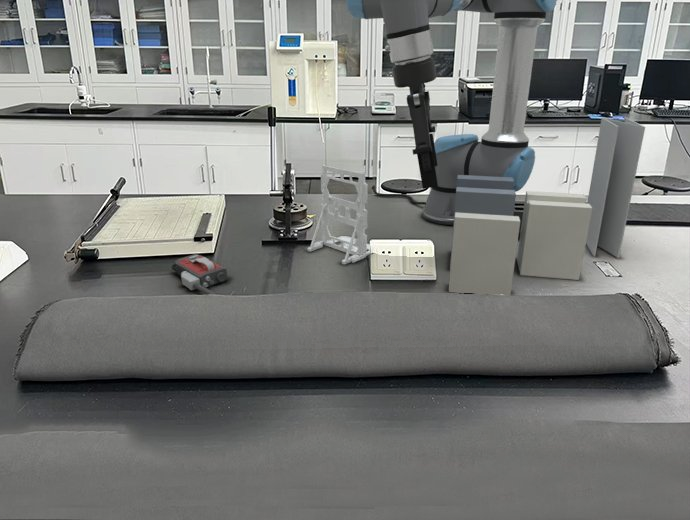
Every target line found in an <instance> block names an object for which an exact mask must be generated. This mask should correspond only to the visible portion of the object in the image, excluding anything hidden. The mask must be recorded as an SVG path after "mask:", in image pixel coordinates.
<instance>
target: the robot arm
mask: <svg viewBox="0 0 690 520" xmlns="http://www.w3.org/2000/svg"><path fill="white" fill-rule="evenodd" d="M557 1H558V0H345V3H346V4H345V5H346V8H347V11H348V12H349V14H350V16H352V17H353V18H355V19H363V20H373V19H377V20H378V19H383V24H384V28H385V33H386V35H385V37H386V39H387V45H385V46H384V51H386V52H389V58H390V59H389V60H390V62H391V63H392V64H394V65H393V66H392V68H391V73H392V78H393V83H394V86H395V87H396V88H399V89H401V88H403V89H404V88H409V94H407V95H406V104H407V108H408V111H409V117H410V120H411V122H412V123H411V124H412V128H413V129H412V130H413V138H414V144H415V148H413V149H412V155H413V156H414V155H416V156H417V162H418V167H419V174H420V175H419V176H420V181H421V186H422V190H425V189H429V188H430V191H429V193H428V196H427V199H426V202H425V201H416V200H414V198H413V197H412V196H410V195H409V194H404V193H381V192H378V191H377V190H376V185H373V184H372V186H371V190H372V192H373V194H375V195H376V196H378V197H387V198H388V197H389V198H390V197H401V198H407V199H409V200H410V202H411V203H412V204H414V205H419V206H420V205H423V210H422V217H423V219H425V220H427V221H428V222H431V223H433V224H437V225H443V226H453V224H454V212H455V200H456V188H457V176H458V175H471V176H492V177H512V178H513V180H514V186H513V190H515V193H516V192H519V191H521V189H523V188H524V187H525V185H526V184H527V182H528V181H529V180H530V178H531V175H532V172H533V169H534V165H535V161H536V155H535V154H536V151H535V149H534V148H533V147H531V146H529V143H530V142H529V141H530V138H529V137H528V135H526V133H525V126H526V125H525V124H526V117H527V110H528V109H527V108H528V102H529V101H528V100H529V95H530V87H531V80H532V71H533V64H534V56H535V50H536V49H535V48H536V41H537V32H538V29H539V27H540V26H541V25H542V24H543V23H544V22H545V21H546V19H547V18H546V17H547V13H548V12H551V11H553V10H554V9H555V7H556V5H557ZM460 11H461V12H462V11H463V12H471V13H472V12H475V13H483V14H486V13H489V14H493V13H494V15H493V22H494V23H495V24H496V26H497V27H498V29H499V30H498V38H497V48H496V55H495V56H496V57H495V66H494V68H495V69H494V76H493V85H492V95H491V96H492V97H491V103H490V112H489V120H488V121H489V123H488V130H487V131H486V132H485V133H484V134H483V135H482V136H481V140H480V141H479V139H480V138H479V136H478V135H477V134H474V133H465V134H464V133H463V134H450V135H445V136H440V137H438V138H437V139H436V140H435V139H434V133H436V131H437V130H436V126H433V124H432V122H431V112H430V110H431V105H430V103H431V102H430V101H431V98H430V91H429V90H426V84H429V83H431V82H433V81H434V80H436V79H437V69H436V63H435V59H434V58H433V57H431V55H433V54H434V46H433V38H432V31H431V29H430V28H431V27H430V22H429V21H430V20H429V19H432V18H436V17H443V16H445V15H447V14H449V13H451V12H460ZM434 140H435V141H434Z"/></svg>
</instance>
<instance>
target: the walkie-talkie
mask: <svg viewBox="0 0 690 520" xmlns="http://www.w3.org/2000/svg"><path fill="white" fill-rule="evenodd" d="M170 268H171V269H172V270H173V271H174V272H175V273H176V274H177V275H178V276H180V278H181V285H182V286H185V288H188V289H189V290H190V291H194V290H197V291H200V292H202V293H203V294H204V295H206V294H216V292H214V291H212V290H210V289H208V287H212V286H214V285H215V286H216V285H218V284H220V283H223V282H226V281H228V271H227V270H228V269H227V267H225V266H223V265H221V264H219V263H217V262H215V261H213V260H211V259H210V258H207V257H205V256H203V255H201V254H197V253H195V254H191V255H187V256H184V257H181V258H178V259H176V260H175V262H174V263H173V264H171V266H170Z"/></svg>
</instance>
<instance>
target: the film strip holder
mask: <svg viewBox="0 0 690 520" xmlns="http://www.w3.org/2000/svg"><path fill="white" fill-rule="evenodd" d="M328 172H332V174H331V175H332V176H331V175H328ZM335 174H339V176H340V177H335ZM344 176H348V177H349V179H344ZM353 177H354V178H358V180H357V182H356V181H353ZM330 180H333V181H337V182H342V183H345V184H349V185H354V187H355V190H356V193H357V197H356V199H355V202H354V201H349V200H346V199H343V198H338V197H335V196H331V195H330V192H329V188H328V185H329V183H330ZM368 187H369V184H368V183H366V173H365V172H357V171H353V170H349V169H344V168H339V167H334V166H329V165H326V164H321V173H320V192H321V193H322V194H321V195H322V197H321V198H320V203H321V204H320V210H321V211H320V215H319V217H318V221H317V224H316V227H315V230H314V233H313V236H312V239H311V243H310V245H309V246H308V247H307V249H306V250H307V252H309V253H311V252H314V251H316V250H319V249H322V248H324V246H327V247H329V248H332V249H334V250H337V251H341V252H343V253H345V256H344V259H342V260H341V264H342V265H344V266H345V265H348V264H350V263H352V264H354V263H357V262H359V261H361V260H364V259H366V257H368V256H370V255H371V254H370V244H371V243H368V235H367V234H366V232H365V231H366V230H367V229H368V209H366V205H367V204H368V196H369V195H368V194H369V193H368V191H369V188H368ZM330 204H333V206H334V209H333V211H334V213H332V212H330ZM340 207H343V208H344V211H345V212H344V213H345V214H344V215H340V214H341V213H340ZM351 210H353V211H355V213H356V214H355V219H353V218H351ZM330 221H334V222H337V223H340V224H343V225H347V226H350V227H353V228H354V229H353V233H352V234H351V236H347V235H346V236H344V235H341V236H338V237H336V236H332V235H331V233H330V230H329V227H328V226H329V224H330ZM320 226H321V239H322V240H320V241H316V239H317V235H318V233H319V229H320ZM356 236H357V238H356ZM339 242H340V244H336V243H339Z"/></svg>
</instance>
